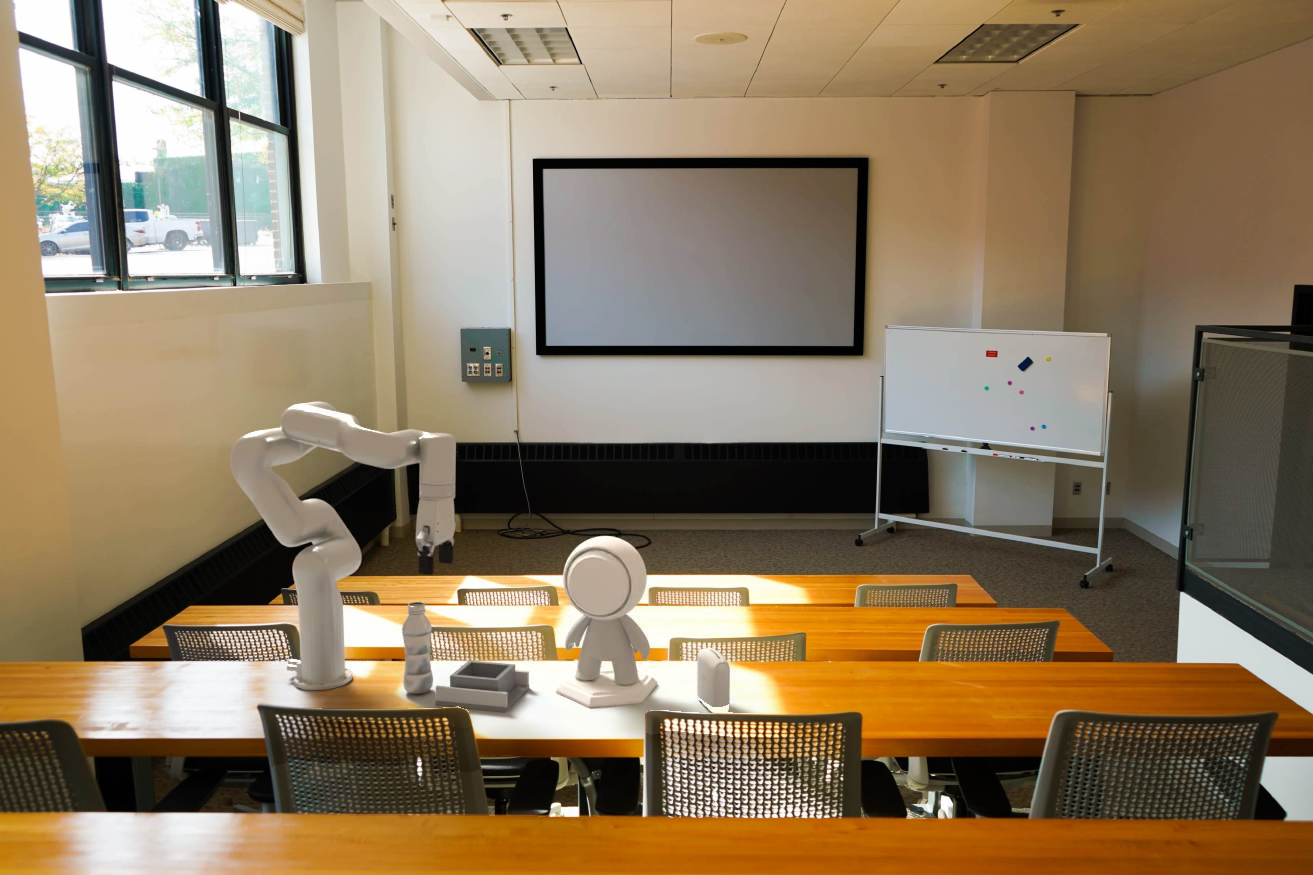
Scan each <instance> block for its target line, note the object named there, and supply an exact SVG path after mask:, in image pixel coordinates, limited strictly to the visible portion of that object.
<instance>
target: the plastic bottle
mask: <svg viewBox="0 0 1313 875" xmlns="http://www.w3.org/2000/svg"><path fill="white" fill-rule="evenodd" d="M425 613H426V604H425V602H423V601H413V602H409V603H408V604H407V614H408V616H407V617H406V618H405V621H404V622H403V624H402V627H401V633H402V639H403V644H404V655H405V660H404V662H405V663H404V672H403V680H402V683H403V689H404V690H405V691H406V692H407V693H408V694H411V695H422V694H425V693H427V692H429V691H431V688H432V687H433V683H434V677H433V671H432V664H431V657H430V656H431V655H430V652H431V651H430V649H431V648H430V647H431V637H432V627H433V626H432V624H431V621H430V620H429V618H428V617H427V616H426V615H425Z"/></svg>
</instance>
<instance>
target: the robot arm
mask: <svg viewBox="0 0 1313 875" xmlns="http://www.w3.org/2000/svg"><path fill="white" fill-rule="evenodd" d="M317 447H318V448H322V449H325V450H326V449H327V450H331V451H334V452H339V453H342V454H343V455H344V456H345V457H347V458H349V459H351V460H353V461H355V462H356V463H360V464H364V465H368V466H373V467H376V468H380V469H385V470H386V469H389V470H391V469H394V470H395V469H397V468H398V469H399V468H401V467H405V466H409V465H414V464H419V496H418V497H419V501H418V507H417V511H416V512H417V513H416V524H415V525H416V526H415V544H416V550H417V556H418V573H419V574H421V575H429V576H432V575H433V574H434V569H435V568H434V566H435V556H434V555H433V553H434V550H435V547H437V546H438V561H439V564H449V565H451V564H453V563H454V545H455V540H454V539H455V537H456V532H455V531H456V527H457V523H456V520H455V504H454V503H455V501H454V499H455V498H456V463H457V462H456V457H457V455H456V454H457V450H456V449H457V442H456V438H455V436H454V435H453V434H450V433H446V432H445V433H444V432H428V431H424V430H420V429H412V428H410V429H404V430H398V431H394V432H390V433H389V432H388V433H387V432H382V431H381V432H380V431H378V430H372V429H369V428H366V427H365V428H364V427H362V426H360V421H359V419H358V418H357V416H355V415H353V414H349V413H345V412H342V411H341V412H340V411H338V410H337V409H336V407H335V406H333V405H331V404H330V403H329V402H325V401H311V402H302V403H297V404H293V405H291V406H289V407H288V408H286V409H285V410H284V411H283V412H282V414H281V416H280V420H279V427H274V428H268V429H261V430H260V429H259V430H255V431H252V432H249V433H246V434H244V435H242V436H241V437H240V438H238V439H237V440H236V442H235V443H234V444H233V446H232V448H231V452H230V458H229V465H230V471H231V475H232V477H233V478H234V480H235V482H236V483H237V485H238V486H239V488H240V489H241V490H242V491H243V493H244V494H245V495H246V496H247V497H248V499H249V500H250V501H251V503H252V504H253V506H254V507H255V509H256V510H257V512H258V513H259V515H260V516H261V518H262V519H263V520H264V522H265V523H266V525H267V526H268V528H269V529H270V531H271V532H272V534H273V536H274V537H275V538H276V540H277V541H278V542H279V543H280V544H281V545H283V546H285V547H287V548H293V547H299V546H301V545H305V544H308V543H310V542H311V543H312V545H310V546H307V547H305V548H304V549H303V550H302V549H301V551H300V552H299V553H298V554H297V555H296V556H295V558H294V560H293V563H292V576H293V581H294V585H295V588H296V595H297V604H298V605H297V606H298V607H297V609H298V610H297V611H298V625H299V653H300V656H299V658H300V659H296V658H295V659H294V658H291V659H290V658H289V660H288V662H287V665H286V671H290V672H295V673H296V675H295V676H294V678H293V684H294V686H295V687H296V688H299V689H301V690H304V691H305V690H306V691H324V690H330V689H335V688H338V687H339V688H340V687H342V686H344V685H346V684H348V683H349V682H350V681H351V680H352V679H353V671H352V670H351V669H350V668H347V667H346V659H345V657H346V656H345V654H346V653H345V652H346V651H345V628H344V626H345V624H344V604H343V602H344V601H343V598H342V595H341V592H340V590H339V587H338V584H337V582H338V581H339V580H341V579H344V578H346V577H349V576H351V575H352V574H354V573H355V572H356V571H357V570H358V569H359V567H360V566H361V563H362V556H363V555H362V552H361V548H360V546H359V544H358V542H357V540H356V539H355V537H354V536H353V535H352V533H351V531H350V530H349V529H348V528H347V526H346V524H345V523H344V522H343V520H342V518H341V517H340V516H339V514H338V512H337V511H336V510H335V508H334V507H332V505H331V504H329V503H327V501H324V500H322V499H319V498H309V499H304V500H301V499H299V497H298V496H297V494H295V492H294V491H293V489H292V487H291V486H290V485H289V483H288V482H287V481H286V480H285V479H284V478H282V476H280V475H279V474H277V473H275V472H274V470H273V469H272V467H277V466H281V465H285V464H290V463H293V462H296V461H298V460H299V459H301V458H303V457H304V456H306V455H307V454H308V453H310V452H311V451H313V450H314V449H316V448H317ZM428 547H429V548H428Z"/></svg>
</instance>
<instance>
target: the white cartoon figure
mask: <svg viewBox="0 0 1313 875" xmlns="http://www.w3.org/2000/svg"><path fill="white" fill-rule="evenodd" d="M563 568H564V569H563V573H562V584H563V588H564V592H565V594H566V597H567V599H568V601H569V603H570V604H571V605H572V607H574V609H576V610H577V611H578V612H579V613H580V614H582V615H581V616H580V618H578V619H577V620H576V621H575V623H573V625H572V626H571V627H570V629H569V631H568V632H567V635H566V637H565V642H564V647H565V650H566V651H567V652H569V651H571V649H573V648H574V647H576V648H579V646H580V643H581V641H582V638H583V636H584V639H583V642H582V644H581V648H580V652H579V656H578V662H577V667H576V670H575V671H574V672H573V673H571V674H570V675H569V676H568V677H567V678H566V679H565V680H564V681H563V682H561V683H560V685H559V686H558V687H557V688H556V692H555V693H556V694H559V695H560V696H562V695H563V697H564V698H567V699H570V700H571V701H574V702H575V703H578V704H579V705H582V706H585V707H586V708H589V709H591V708H601V707H602V708H603V707H612V706H613V707H614V706H615V705H616V706H624V705H637V704H639V705H640V704H643V702H644V701H646V699H647V698H648V697H649V695H650V694H651V692H652V691H653V690H654V689H655V687H657V685H658V681H657V680H656V679H655V678H654V677H653V676H651V675H648V674H646V673H643V672H642V671H641V672H640V671H638V668H637V662H636V658H635V654H638V653H639V654H640V655H641V659H642V660H646V659H647V658H649V656H650V654H651V646H650V643H649V642H650V641H649V640H648V637H647V636H646V634H645V633H644V631H643V630H642V629H641V627H640V626H639V624H638V623H637V622H636V621H635V620H634V619H633V618H632V617H631V616H630V615H628V614H629V613H630V612H631V611H632V610H633V609H634V608H635V607H637V605H638V604H639V602H640V601H641V600H642V597H643V596H644V593H645V591H646V586H647V577H648V576H647V575H648V574H647V568H646V564H645V562H644V560H643V558H642V556H641V554H640V553H639V551H638V550H637V549H636V548H635V547H634V546H633V545H632V544H631V543H629V542H628V541H626V540H624V539H622V538H619V537H616V536H609V535H600V536H595V537H591V538H589V539H587V540H585V541H583V542H582V543H580V544H579V545H577V546H576V547H575V548H574V550H573V551H572V552H571V553H570V554H569V556H568V557H567V560H566V562H565V565H564V567H563ZM603 661H605V662H606V661H608V662H609V661H611V665H610V664H609V665H602V662H603Z"/></svg>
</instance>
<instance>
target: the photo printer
mask: <svg viewBox="0 0 1313 875" xmlns="http://www.w3.org/2000/svg"><path fill="white" fill-rule="evenodd" d="M696 661H697V662H696V664H697V665H696V666H697V668H696V669H697V672H696V675H697V677H696V679H697V681H696V682H697V683H696V686H697V689H696V690H697V692H696V693H697V696H698V697H699V698H700V699H702V700H703V701H704V702H706V703H707V704H709V705H710V706H712V707H723V706H726V705H728V704H731V703H730V700H731V699H730V695H731V694H730V693H731V692H730V691H731V690H730V688H731V687H730V685H731V684H730V682H731V680H730V678H731V676H730V675H731V674H730V673H731V668H730V667H731V666H730V664H729V662H728V660H727V659H726V658H725V656H724V655H723V654H722V653H721V652H719V651H718V650H717V649H715V648H713V647H707V648H702V649H701V650H700V651H699V652H698V654H697V660H696ZM697 696H696V697H697ZM698 697H697V698H698Z"/></svg>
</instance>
